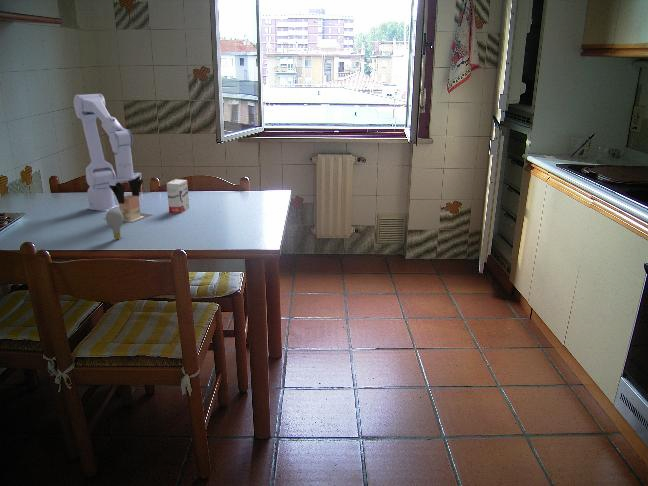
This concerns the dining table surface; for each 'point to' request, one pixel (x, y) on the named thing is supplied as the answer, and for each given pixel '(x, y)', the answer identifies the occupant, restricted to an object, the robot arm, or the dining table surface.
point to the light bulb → (115, 222)
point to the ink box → (177, 196)
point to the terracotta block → (130, 202)
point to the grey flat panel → (137, 218)
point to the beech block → (131, 213)
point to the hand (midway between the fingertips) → (128, 200)
